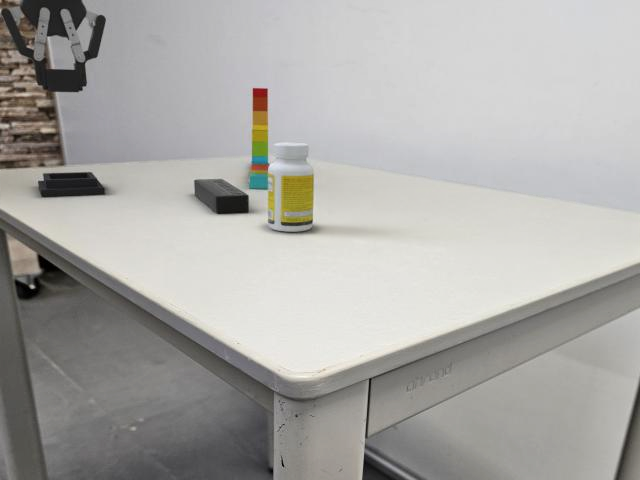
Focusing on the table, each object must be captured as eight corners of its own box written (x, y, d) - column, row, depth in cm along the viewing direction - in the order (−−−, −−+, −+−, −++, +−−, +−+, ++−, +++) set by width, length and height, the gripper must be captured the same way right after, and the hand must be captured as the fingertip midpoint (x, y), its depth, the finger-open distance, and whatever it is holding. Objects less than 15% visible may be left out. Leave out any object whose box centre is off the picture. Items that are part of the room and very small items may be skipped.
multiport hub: (217, 214, 83) (216, 196, 82) (194, 195, 95) (193, 179, 94) (249, 212, 84) (249, 195, 83) (222, 193, 97) (222, 178, 96)
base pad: (41, 197, 90) (39, 181, 89) (38, 187, 97) (36, 172, 96) (105, 194, 93) (103, 179, 92) (97, 185, 100) (96, 171, 99)
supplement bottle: (321, 227, 77) (323, 144, 74) (294, 235, 73) (296, 147, 69) (286, 220, 80) (286, 140, 76) (258, 228, 76) (257, 143, 72)
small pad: (48, 91, 89) (46, 68, 88) (47, 91, 92) (44, 68, 91) (79, 92, 90) (76, 69, 89) (76, 91, 94) (73, 69, 93)
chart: (252, 164, 130) (251, 86, 124) (268, 164, 130) (268, 86, 125) (248, 188, 102) (246, 89, 96) (268, 189, 102) (268, 90, 97)
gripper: (-13, -57, 79) (8, 90, 85) (106, -45, 85) (118, 92, 91) (-12, -47, 85) (8, 88, 91) (99, -37, 91) (110, 90, 97)
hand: (62, 89), depth 91 cm, fingers closed on small pad, 4 cm apart
